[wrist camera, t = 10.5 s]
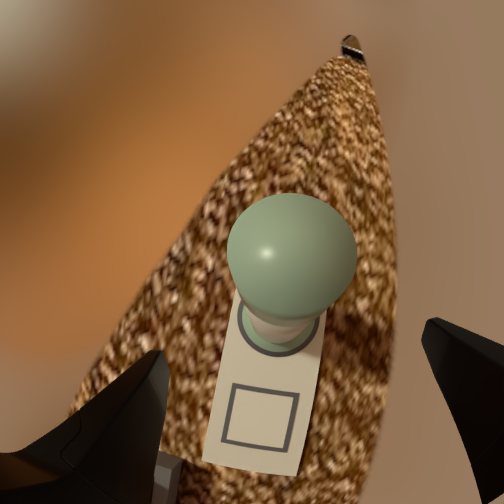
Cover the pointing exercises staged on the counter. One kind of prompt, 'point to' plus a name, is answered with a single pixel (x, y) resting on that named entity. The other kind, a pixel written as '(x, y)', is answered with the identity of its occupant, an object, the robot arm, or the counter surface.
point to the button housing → (166, 478)
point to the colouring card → (263, 397)
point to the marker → (290, 262)
